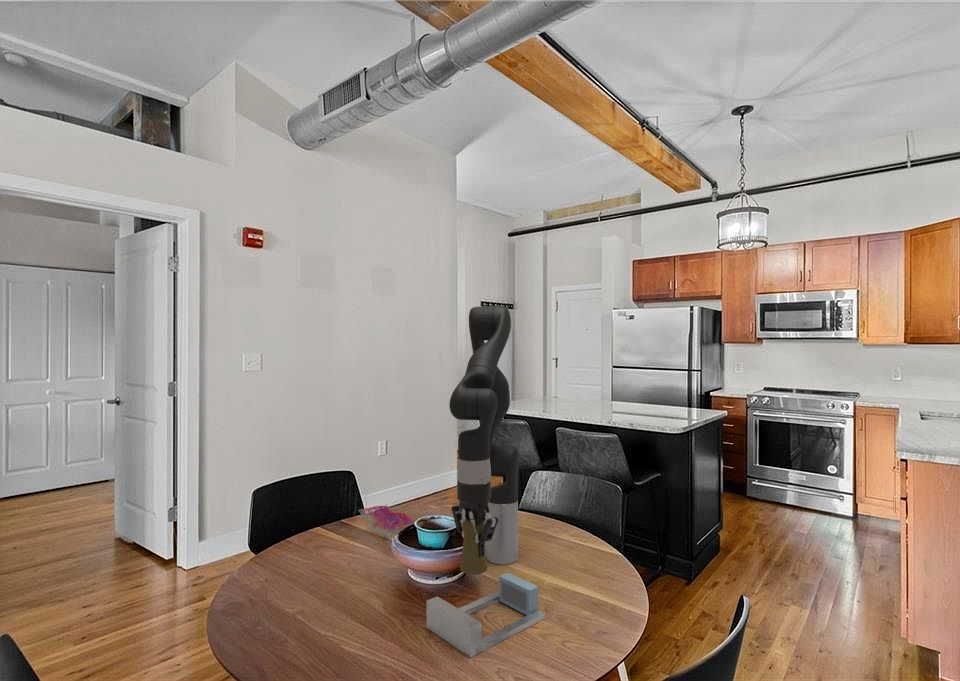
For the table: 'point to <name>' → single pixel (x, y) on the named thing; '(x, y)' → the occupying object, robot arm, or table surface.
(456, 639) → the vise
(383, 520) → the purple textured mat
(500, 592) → the free jaw
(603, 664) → the table surface
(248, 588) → the table surface
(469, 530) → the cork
